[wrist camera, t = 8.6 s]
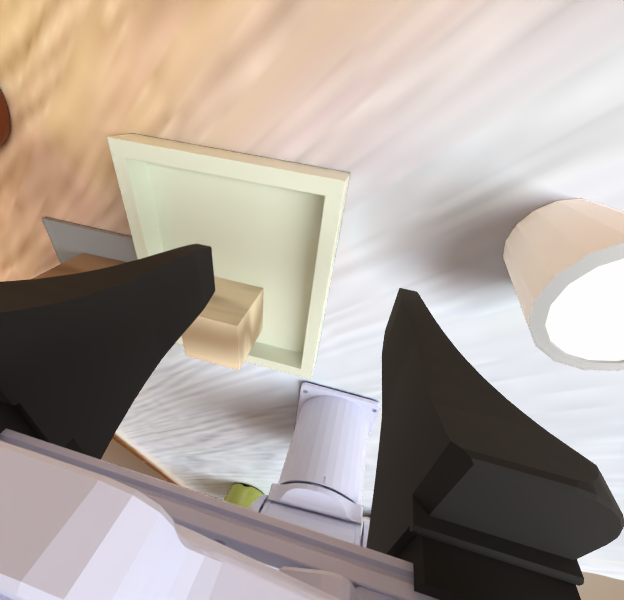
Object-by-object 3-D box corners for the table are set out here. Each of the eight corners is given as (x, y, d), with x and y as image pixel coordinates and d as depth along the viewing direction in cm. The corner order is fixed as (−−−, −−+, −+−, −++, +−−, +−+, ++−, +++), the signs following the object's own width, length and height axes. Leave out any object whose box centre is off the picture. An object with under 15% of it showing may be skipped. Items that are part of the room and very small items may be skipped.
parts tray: (316, 361, 29) (310, 379, 27) (171, 323, 30) (157, 337, 29) (350, 172, 19) (345, 181, 17) (132, 133, 20) (106, 137, 19)
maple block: (262, 329, 27) (238, 370, 23) (216, 317, 28) (185, 355, 24) (263, 288, 25) (237, 326, 21) (212, 275, 25) (177, 310, 21)
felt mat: (170, 337, 32) (167, 339, 31) (86, 314, 33) (83, 316, 32) (149, 240, 25) (146, 242, 25) (46, 216, 26) (41, 218, 26)
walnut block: (140, 303, 29) (97, 337, 25) (99, 293, 30) (51, 326, 26) (127, 262, 27) (78, 293, 22) (83, 252, 27) (27, 281, 23)
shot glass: (556, 310, 20) (616, 393, 15) (467, 264, 20) (493, 332, 14) (666, 222, 16) (806, 291, 11) (556, 163, 16) (641, 202, 10)
